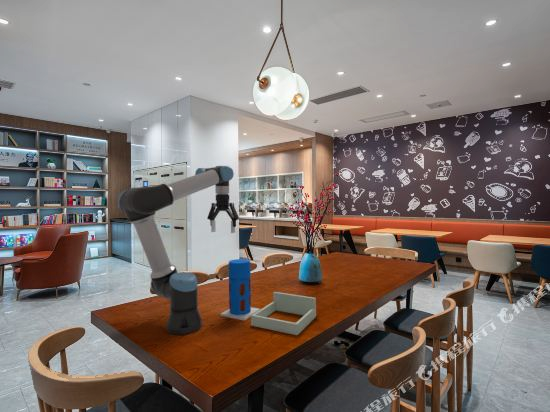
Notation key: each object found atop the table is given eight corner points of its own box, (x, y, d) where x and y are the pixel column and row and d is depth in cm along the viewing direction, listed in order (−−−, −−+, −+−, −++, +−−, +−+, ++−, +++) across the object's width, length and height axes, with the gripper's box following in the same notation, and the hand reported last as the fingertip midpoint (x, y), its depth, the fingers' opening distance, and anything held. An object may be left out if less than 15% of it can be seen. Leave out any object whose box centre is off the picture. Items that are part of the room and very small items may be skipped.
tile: (244, 320, 139) (244, 318, 139) (220, 315, 145) (220, 313, 145) (259, 310, 151) (259, 308, 151) (237, 306, 158) (237, 304, 158)
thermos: (254, 308, 152) (253, 259, 152) (246, 316, 142) (245, 263, 141) (234, 306, 155) (233, 258, 155) (225, 313, 145) (224, 262, 144)
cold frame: (297, 335, 123) (297, 313, 123) (251, 325, 133) (251, 305, 133) (316, 316, 143) (315, 297, 142) (274, 309, 153) (274, 291, 153)
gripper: (245, 193, 162) (245, 232, 162) (209, 194, 174) (210, 231, 174) (237, 193, 155) (237, 233, 156) (200, 194, 167) (201, 232, 167)
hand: (223, 232), depth 165 cm, fingers open, 13 cm apart
